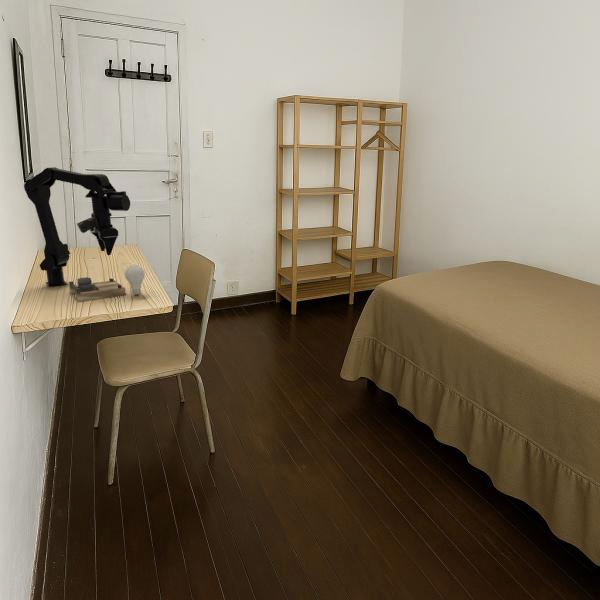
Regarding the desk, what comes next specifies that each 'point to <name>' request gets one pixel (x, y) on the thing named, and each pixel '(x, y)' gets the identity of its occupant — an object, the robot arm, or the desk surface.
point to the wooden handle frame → (98, 290)
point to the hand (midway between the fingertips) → (105, 253)
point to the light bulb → (135, 278)
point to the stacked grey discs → (84, 284)
